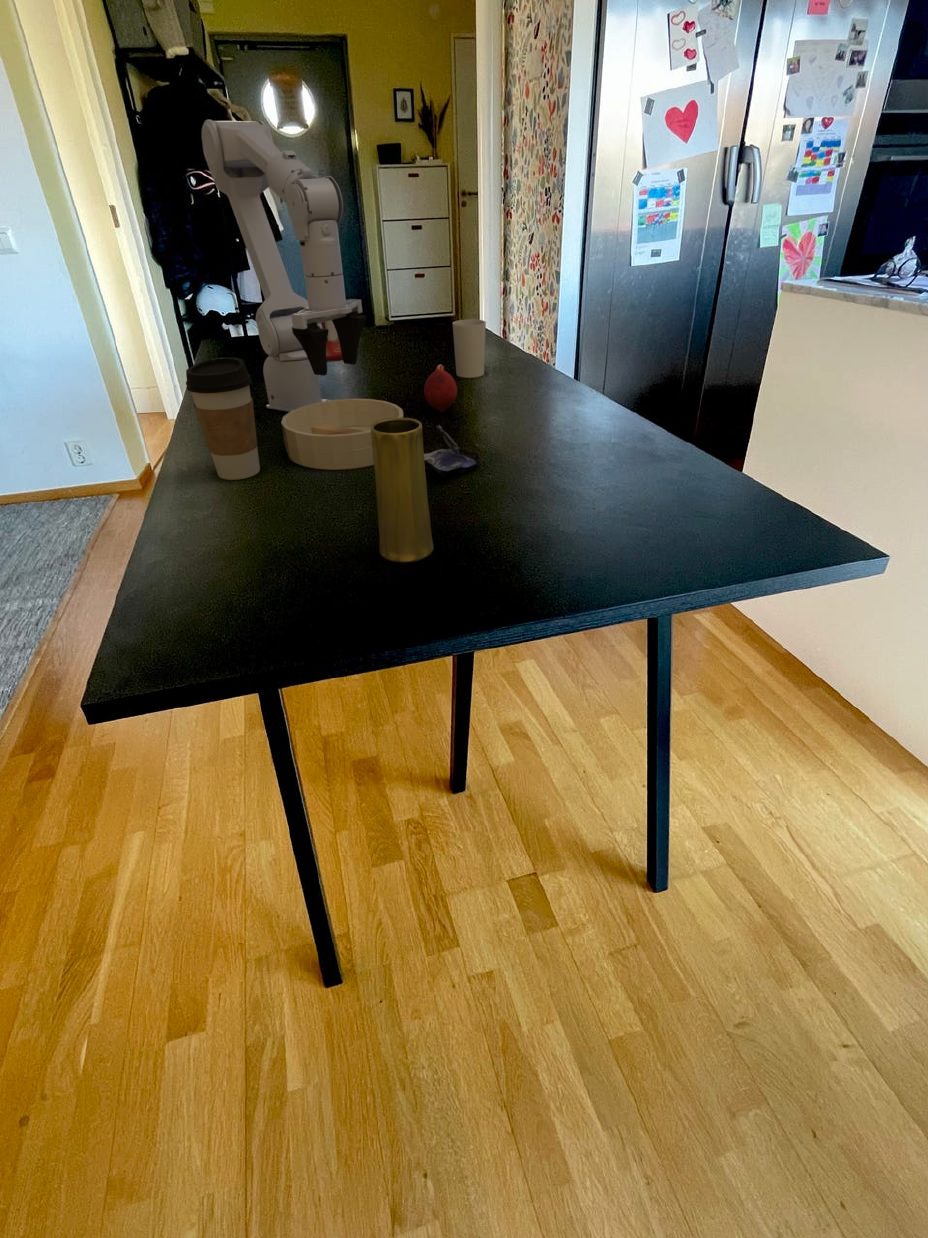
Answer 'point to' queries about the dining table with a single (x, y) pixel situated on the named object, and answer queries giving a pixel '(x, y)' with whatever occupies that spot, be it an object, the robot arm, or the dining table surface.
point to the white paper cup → (469, 347)
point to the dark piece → (450, 457)
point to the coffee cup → (226, 415)
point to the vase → (401, 490)
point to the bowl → (339, 447)
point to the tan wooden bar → (332, 429)
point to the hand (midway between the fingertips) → (335, 368)
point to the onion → (440, 389)
